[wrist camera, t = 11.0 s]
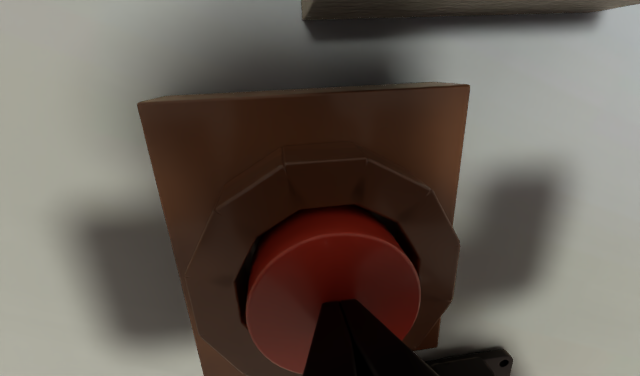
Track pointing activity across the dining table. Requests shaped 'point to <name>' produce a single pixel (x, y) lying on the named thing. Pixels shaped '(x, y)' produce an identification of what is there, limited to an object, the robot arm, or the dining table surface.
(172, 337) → the dining table surface
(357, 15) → the panel
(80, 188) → the dining table surface
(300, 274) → the red push button
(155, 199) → the dining table surface
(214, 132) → the button block
